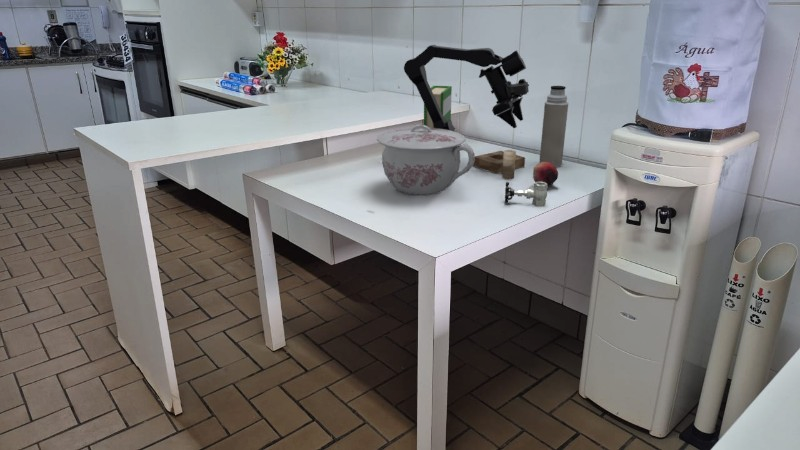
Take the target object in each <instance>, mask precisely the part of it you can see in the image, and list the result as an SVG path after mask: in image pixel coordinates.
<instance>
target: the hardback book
mask: <svg viewBox="0 0 800 450" xmlns="http://www.w3.org/2000/svg"><path fill="white" fill-rule="evenodd" d="M430 88H431V90H432V92H433V95H434V97H435V99H436V101H437V103H438V106H439V108H440V110H441V112H442V114H443V116H444V118H445V119H446V120H447V121H448V120H450V119H451V120H452V93H453V92H452V88H453V86H451V85H432V86H430ZM423 125H425V126H427V127H429V128H434V127H433V122H432V119H431V117H430V115H429V113H428V111H427V109H426V106H425V104H424V103H423Z"/></svg>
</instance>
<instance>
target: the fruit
mask: <svg viewBox="0 0 800 450" xmlns="http://www.w3.org/2000/svg"><path fill="white" fill-rule="evenodd" d="M532 178H533V181H534V183H535V182H545V183H547V188H548V187H551V186H553V184H554V183H555V182H556V181H557V180H558V178H559V171H558V169H557V167H555V166H554V165H553V164H552V163H550V162H541V163H537V164H536V165H534V167H533V172H532Z"/></svg>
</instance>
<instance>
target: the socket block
mask: <svg viewBox="0 0 800 450" xmlns="http://www.w3.org/2000/svg"><path fill="white" fill-rule="evenodd" d="M504 151H505V150H498V151H493V152H489V153H485V154H480V155H475V161H474V165H473V166H472V167H475V168H478V169H481V170H483V171H487V172H490V173H492V174H496V175H497V174H500V173H501V174H502V171H503V155H504ZM525 163H526V157H525V156H521V155H518V154H516V158H515V170H517V169H523V168H525Z"/></svg>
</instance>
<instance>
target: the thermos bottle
mask: <svg viewBox="0 0 800 450" xmlns="http://www.w3.org/2000/svg"><path fill="white" fill-rule="evenodd" d="M566 88H567V87H566V86H563V85H551V86H550V92H549V94H548V95H547V96H546V97H547V98H546V101H545V102H544V109H543V119H542V128H541V129H542V131H541V142H540V153H539V161H538V162H539V163H541V162H550V163H552V164H553V165H554V166H555V168H560V167H562V165H563V157H564V150H565V149H564V148H565V147H564V146H565V138H566V129H567V120H568V112H569V111H568V110H569V102H567V101H568V100H567V99H568V96H567V95H566V91H565V90H566ZM539 163H538V164H539Z"/></svg>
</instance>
